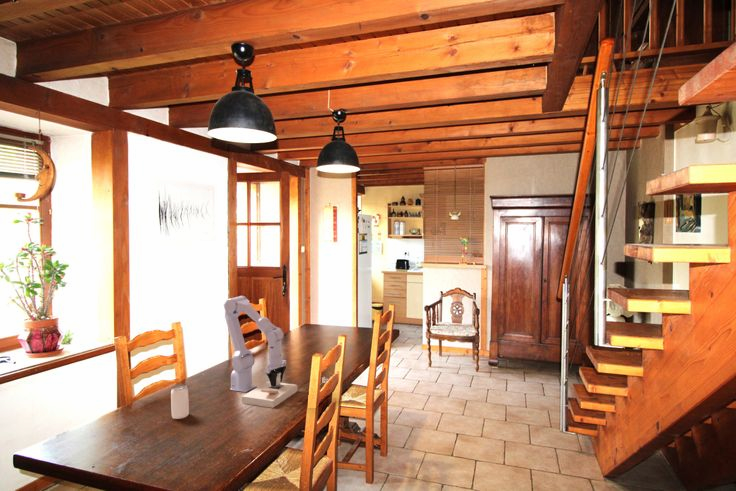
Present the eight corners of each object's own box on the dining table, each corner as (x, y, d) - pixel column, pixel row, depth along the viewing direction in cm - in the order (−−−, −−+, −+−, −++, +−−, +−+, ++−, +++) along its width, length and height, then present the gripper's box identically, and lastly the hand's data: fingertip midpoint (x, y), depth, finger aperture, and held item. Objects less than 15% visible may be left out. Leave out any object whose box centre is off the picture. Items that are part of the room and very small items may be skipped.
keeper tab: (260, 391, 187) (261, 389, 188) (270, 392, 194) (270, 390, 194) (268, 392, 186) (269, 390, 186) (277, 393, 193) (278, 391, 193)
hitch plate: (241, 403, 189) (241, 396, 189) (268, 387, 208) (268, 381, 208) (273, 407, 184) (272, 400, 184) (297, 391, 202) (297, 384, 202)
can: (172, 420, 173) (171, 391, 173) (171, 414, 179) (170, 386, 178) (189, 417, 176) (188, 388, 176) (188, 411, 182) (187, 383, 181)
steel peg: (269, 391, 199) (269, 373, 199) (273, 388, 203) (273, 371, 203) (278, 392, 197) (278, 374, 197) (282, 388, 202) (282, 371, 202)
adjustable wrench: (317, 399, 193) (317, 395, 193) (304, 398, 195) (304, 394, 195) (335, 379, 218) (335, 376, 218) (323, 379, 219) (323, 375, 219)
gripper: (274, 360, 192) (275, 390, 192) (291, 351, 205) (292, 379, 206) (260, 358, 194) (261, 388, 195) (278, 350, 208) (279, 378, 208)
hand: (276, 384), depth 200 cm, fingers closed on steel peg, 4 cm apart
